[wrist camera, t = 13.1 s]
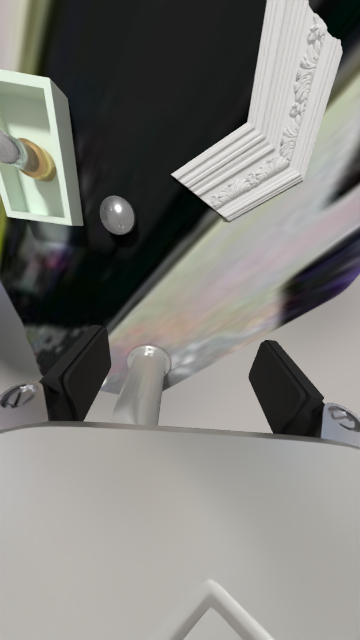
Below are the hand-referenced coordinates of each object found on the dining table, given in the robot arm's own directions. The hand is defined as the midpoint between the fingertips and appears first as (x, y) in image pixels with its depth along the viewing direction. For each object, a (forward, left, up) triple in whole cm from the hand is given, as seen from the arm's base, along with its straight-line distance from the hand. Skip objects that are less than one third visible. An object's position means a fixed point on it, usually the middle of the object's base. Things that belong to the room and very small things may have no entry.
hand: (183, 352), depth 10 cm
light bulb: (+13, +26, -30) cm, 41 cm away
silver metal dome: (+7, +13, -30) cm, 34 cm away
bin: (+13, +26, -30) cm, 42 cm away
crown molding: (+21, -10, -31) cm, 39 cm away
